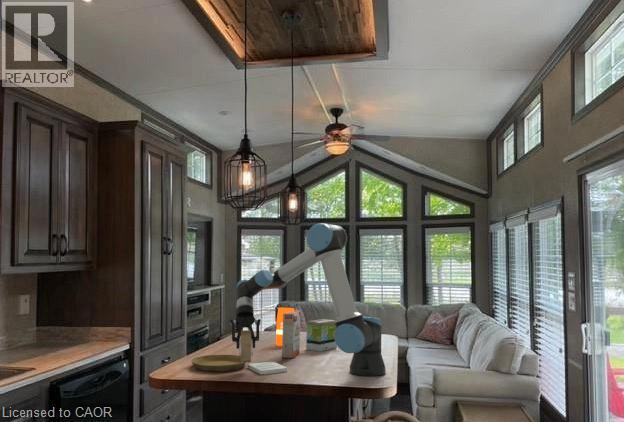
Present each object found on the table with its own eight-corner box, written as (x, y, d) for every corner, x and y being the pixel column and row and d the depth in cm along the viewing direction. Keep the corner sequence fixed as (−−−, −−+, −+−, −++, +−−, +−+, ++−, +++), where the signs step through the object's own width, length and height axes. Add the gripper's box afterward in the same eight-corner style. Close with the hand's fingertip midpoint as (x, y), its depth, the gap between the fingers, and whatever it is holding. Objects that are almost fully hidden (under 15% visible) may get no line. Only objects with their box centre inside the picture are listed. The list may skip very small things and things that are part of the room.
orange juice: (291, 346, 265) (292, 308, 266) (275, 345, 266) (276, 308, 268) (294, 343, 272) (295, 307, 274) (279, 343, 274) (279, 306, 276)
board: (287, 371, 206) (287, 367, 206) (260, 374, 200) (261, 370, 200) (272, 365, 218) (272, 361, 218) (247, 367, 212) (247, 363, 212)
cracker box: (293, 358, 232) (294, 314, 234) (281, 358, 233) (282, 313, 235) (300, 353, 246) (300, 311, 248) (288, 352, 247) (289, 310, 249)
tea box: (321, 352, 250) (321, 322, 251) (305, 349, 256) (306, 320, 257) (337, 347, 262) (338, 319, 263) (322, 345, 268) (322, 318, 269)
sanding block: (240, 359, 207) (240, 330, 208) (250, 359, 208) (250, 330, 209) (241, 362, 201) (241, 332, 202) (250, 361, 202) (251, 332, 203)
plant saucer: (211, 359, 230) (212, 352, 230) (257, 364, 221) (257, 356, 221) (179, 370, 208) (179, 362, 208) (228, 376, 199) (228, 367, 199)
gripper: (263, 314, 223) (266, 358, 205) (225, 315, 220) (224, 360, 202) (264, 303, 218) (267, 348, 200) (225, 304, 215) (225, 349, 197)
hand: (246, 354), depth 201 cm, fingers closed on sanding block, 4 cm apart
